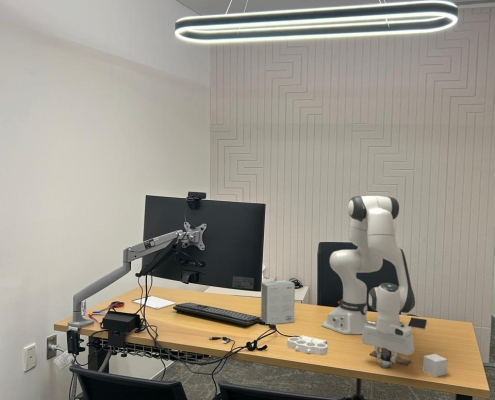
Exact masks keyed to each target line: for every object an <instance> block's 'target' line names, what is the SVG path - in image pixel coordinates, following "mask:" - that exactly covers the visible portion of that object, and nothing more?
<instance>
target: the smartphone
mask: <svg viewBox="0 0 495 400" xmlns="http://www.w3.org/2000/svg"><path fill="white" fill-rule="evenodd" d="M426 322H427V319H425V318H424V319H423V318H418V317H410V319H409V322H408V324H407V326H409V327H411V328H412V329H416V328H417V329H419V330H424V331H425V329H426V325H427V323H426Z"/></svg>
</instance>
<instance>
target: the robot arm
mask: <svg viewBox="0 0 495 400" xmlns="http://www.w3.org/2000/svg"><path fill="white" fill-rule="evenodd" d="M347 210H348V215H349V217H350V218H351V220H350V221H351V222H350V226H349V231H348V239H349V241H350V242H351V243H352V244H353V246H354V245H355V247H357V248H356V249H339V250H335V251H333V252H332V253H331V254H330V256H329V266H330V268H331V269H332V271H334V272H335V273H336V274H337V275H338V276H339V278H340V280H341V282H342V298H340V300H338V301H337V304H339V305H338V306H337V307H336V308H334V309H332V310H331V311H330V312H329V313H328V314H327V317H326V320H324V321H322V324H321V327H324V328H327V329H329V330H332V331H335V332H337V333H340V334H343V335H361V342H362V344H365V345H367V346H368V345H369V346H371V347H374V351H376V353H377V357H376V358H377V359H380V360H381V350H380V349H381V348H386V349H387V350H389V351H392V355H394V356H392V357H390V362H391V363H395V361H396V357H398V356H399V354H401V355H404V356H412V354H413V353H414V350H415V348H414V347H415V345H414V337H413V335H412V332H413V328H411V327H409V326H408V324H405V323H403V322H402V321H401V317H400V313H403V314H408V313H410V312H411V311H412V310H413V309H414V308H415V306H416V297H415V295H414V293H415V292H414V291H413V287H412V283H411V277H410V273H409V269H408V267H409V266H408V264H407V263H408V262H407V259H406V255H405V253H404V250H403V249H402V248H401V247H399V246H398V242H397V241H396V231H395V223H394V220H396V218H397V217H398V216H399V214H400V204H399V201H398V200H397V199H396V198H394V197H393V196H382V195H363V196H360V195H356V196H353V197H351V198H350V200H349V201H348V205H347ZM383 260H385V261H388V262H389V263H391V264H392V265H393V266H394V267H395V268H394V269H395V271H396V276H397V281H398V285H396V284H394V283H390V282H382V283H380V285H379V286H376V287H372V288H371V289H370V290H369V291H368V287H367V284H366V283H365V282H364V281H362V279H359V278H357V273H359V274H360V273H361V274H362V273H373V272H377V271H378V272H379V271H380V269H381V268H382V267H383V262H384V261H383ZM367 292H368V293H367ZM367 294H368V295H367ZM368 306H369V308H371V309H372V310H373V311H375V312H377V313H376V319H375V320H376V322H375V321H370V320H368V319H367V313H368Z"/></svg>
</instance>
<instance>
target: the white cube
mask: <svg viewBox="0 0 495 400" xmlns="http://www.w3.org/2000/svg"><path fill="white" fill-rule="evenodd" d="M422 362H423V363H422V365H423V366H422V372H424V373H426V372H427V373H426V374H428V373H429V374H428V375H430V376H432V377H434V378H437V377H442V376H445V375H447V374H448V373H447V371H448V370H447V368H448V359H447V358H445V357H443V356H441V355H439V354H437V353H432V354H428V355H423V361H422Z"/></svg>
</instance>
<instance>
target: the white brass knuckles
mask: <svg viewBox="0 0 495 400" xmlns="http://www.w3.org/2000/svg"><path fill="white" fill-rule="evenodd" d="M286 342H287V343H286V346H287V347H288V348H290V349H293V350H294V351H297V352H302V353H305V354H311V355H312V354H315V355H318V356H325V355H327V354H328V340H326V339H320V338H316V337H311V336H307V335H303V334H302V335H300V336H297V337H296V336H292V337H288V338H287V341H286Z"/></svg>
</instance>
